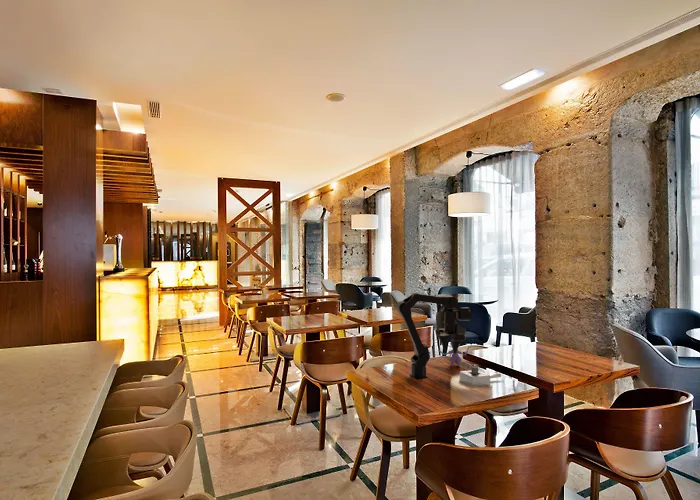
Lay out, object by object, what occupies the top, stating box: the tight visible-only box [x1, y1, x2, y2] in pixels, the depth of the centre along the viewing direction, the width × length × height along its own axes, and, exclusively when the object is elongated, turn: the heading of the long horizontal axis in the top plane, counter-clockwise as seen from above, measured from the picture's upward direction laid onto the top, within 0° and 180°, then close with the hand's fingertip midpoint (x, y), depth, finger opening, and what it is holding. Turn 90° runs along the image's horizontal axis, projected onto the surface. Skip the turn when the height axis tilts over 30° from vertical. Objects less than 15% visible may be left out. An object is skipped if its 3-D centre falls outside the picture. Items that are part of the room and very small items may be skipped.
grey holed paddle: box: [459, 369, 502, 388], centre depth 193 cm, size 20×10×4 cm, turn 110°
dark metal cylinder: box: [470, 363, 479, 375], centre depth 191 cm, size 3×3×8 cm
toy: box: [438, 340, 473, 367], centre depth 222 cm, size 18×6×15 cm, turn 84°
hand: (449, 351), depth 203 cm, fingers open, 9 cm apart
